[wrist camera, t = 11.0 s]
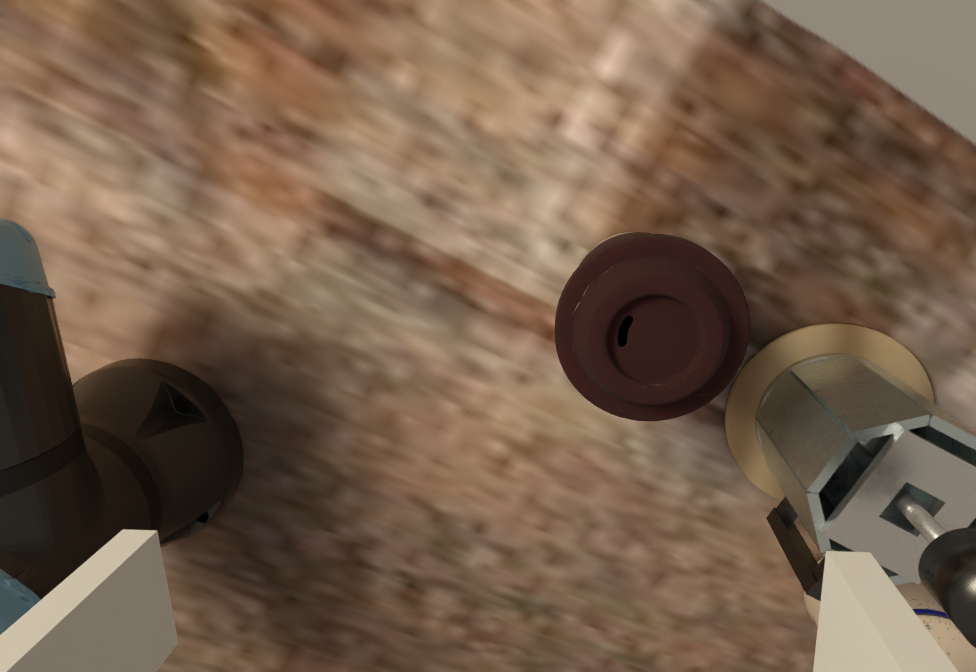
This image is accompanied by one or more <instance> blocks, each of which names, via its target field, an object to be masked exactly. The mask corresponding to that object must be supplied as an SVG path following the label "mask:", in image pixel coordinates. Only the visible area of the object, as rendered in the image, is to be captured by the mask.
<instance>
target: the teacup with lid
mask: <svg viewBox="0 0 976 672" xmlns="http://www.w3.org/2000/svg"><path fill="white" fill-rule="evenodd" d="M823 558H824V556H823V557H822V558H821V559H820V560H819V561H818V562H817V563H818V564H819V563H820V561H821V560H822V559H823ZM895 587H896V588H897V589H898V591H899V592H900V593H901V595H902V596H903V597H904V599H905V600H906V602H907V603H908V604H909V606H910V607H911V608H912V610H913V611H914V612H915V614H916V615H917V616H918V618H919V619H920V621H921V622H922V623H923V625H924V626H925V627H926V629H927V630H928V631H929V633H930V634H931V636H932V637H933V638H934V640H935V641H936V642H937V644H938V645H939V646H940V648H941V649H942V650H943V652H944V653H945V655H946V656H947V657H948V659H949V660H950V661H951V663H952V664H953V665H954V667H955V668H956V669H957V671H958V672H976V648H975V647H973V646H972V645H971V644H970V643H969V642H968V641H967V640H966V638H965V637H964V636H963V635H962V633H961V632H960V631H959V630H958V628H957V627H956V626H955V625H954V623H953V622H952V621H951V620H950V618H949V617H948V616H947V615H946V613H945V612H944V611H943V610H942V608H941V607H940V606H939V605H938V603H937V602H936V601H935V600H934V598H933V597H932V596H931V595H930V593H929V592H928V591H927V590H926V588H925V587H924V586H923V584H922V582H920V583H919V585H918V584H916V583H914V582H909V583H904V584H899V585H895ZM804 599H805V604H806V607H807V610H808V612H809V614H810V616H811V618H812V620H813V622H814V624H815V626H816V628H817V630H818V621H819V612H820V601H818V600H817V599H815V598H813V597H811V596H809V595H807V594H806V593H805V591H804Z"/></svg>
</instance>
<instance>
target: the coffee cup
mask: <svg viewBox="0 0 976 672" xmlns="http://www.w3.org/2000/svg"><path fill="white" fill-rule="evenodd" d="M749 334H750V318H749V311H748V305H747V302H746V299H745V296H744V293H743V291H742V289H741V287H740V285H739V283H738V281H737V280H736V278H735V277H734V276H733V274H732V273H731V271H730V270H729V269H728V268H727V267H726V266H725V265H724V264H723V263H722V262H721V261H720V260H719V259H718V258H716V257H715V256H714V255H713V254H711V253H710V252H709V251H707V250H706V249H704V248H703V247H701V246H699V245H697V244H695V243H693V242H691V241H688V240H686V239H683V238H679V237H675V236H671V235H663V234H651V233H642V232H626V233H620V234H616V235H613V236H611V237H609V238H606V239H605V240H603V241H601V242H600V243H599V244H597V245H596V246H595V247H594V248H593V249H592V250H591V251H590V252H589V254H588V255H587V256H586V257H585V258H584V259H583V261H582V262H581V264H580V265H579V267H578V268H577V269H576V270H575V272H574V273H573V274H572V276H571V277H570V279H569V280H568V282H567V283H566V285H565V287H564V289H563V291H562V294H561V297H560V299H559V303H558V306H557V311H556V318H555V344H556V349H557V354H558V357H559V360H560V363H561V365H562V368H563V370H564V372H565V374H566V375H567V377H568V379H569V380H570V382H571V383H572V384H573V386H574V387H575V388H576V389H577V390H578V391H579V392H580V393H581V394H582V395H583V396H584V397H585V398H586V399H587V400H588V401H590V402H591V403H592V404H594V405H595V406H597V407H599V408H600V409H602V410H604V411H606V412H608V413H610V414H613V415H616V416H618V417H622V418H627V419H631V420H636V421H660V420H668V419H673V418H677V417H680V416H682V415H685V414H688V413H691V412H693V411H695V410H697V409H699V408H700V407H702V406H704V405H706V404H707V403H709V402H710V401H711V400H713V399H714V398H715V397H716V396H717V395H719V394H720V393H721V392H722V391H723V390H724V389H725V388H726V386H727V385H728V384H729V383H730V382H731V380H732V379H733V377H734V376H735V374H736V373H737V371H738V369H739V367H740V365H741V364H742V361H743V359H744V356H745V353H746V350H747V346H748V341H749Z"/></svg>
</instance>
